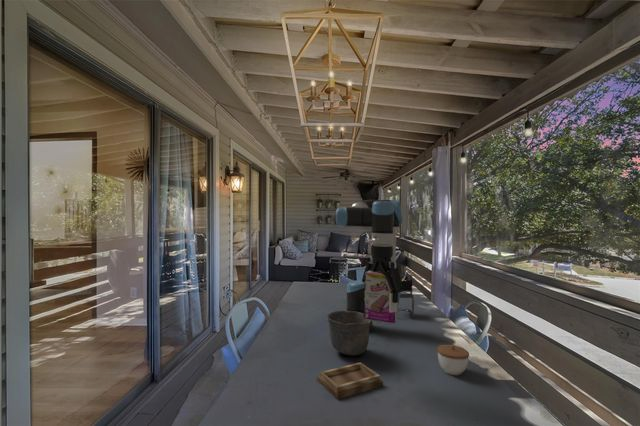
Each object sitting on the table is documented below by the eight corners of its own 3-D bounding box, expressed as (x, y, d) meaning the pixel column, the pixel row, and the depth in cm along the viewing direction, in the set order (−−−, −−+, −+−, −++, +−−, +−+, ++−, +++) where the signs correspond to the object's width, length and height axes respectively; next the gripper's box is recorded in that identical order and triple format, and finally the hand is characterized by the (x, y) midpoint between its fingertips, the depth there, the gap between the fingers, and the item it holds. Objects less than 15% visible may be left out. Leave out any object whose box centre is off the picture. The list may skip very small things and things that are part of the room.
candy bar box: (363, 319, 114) (364, 272, 114) (366, 315, 118) (367, 270, 118) (395, 324, 109) (396, 275, 109) (398, 319, 114) (399, 273, 114)
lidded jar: (433, 364, 125) (433, 339, 125) (461, 365, 125) (461, 340, 125) (442, 377, 114) (443, 351, 114) (473, 379, 114) (474, 352, 114)
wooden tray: (359, 369, 119) (359, 360, 119) (382, 385, 108) (383, 376, 108) (316, 380, 110) (316, 371, 110) (337, 399, 99) (337, 389, 99)
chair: (411, 310, 196) (412, 274, 196) (414, 319, 179) (414, 279, 179) (389, 309, 198) (390, 273, 198) (390, 317, 181) (390, 278, 181)
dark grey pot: (340, 366, 121) (341, 326, 121) (319, 348, 137) (319, 313, 137) (378, 357, 129) (379, 320, 129) (354, 342, 145) (355, 308, 145)
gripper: (353, 242, 122) (351, 300, 122) (398, 248, 102) (396, 318, 101) (368, 242, 126) (367, 298, 126) (415, 248, 106) (414, 315, 105)
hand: (380, 307), depth 114 cm, fingers closed on candy bar box, 11 cm apart
